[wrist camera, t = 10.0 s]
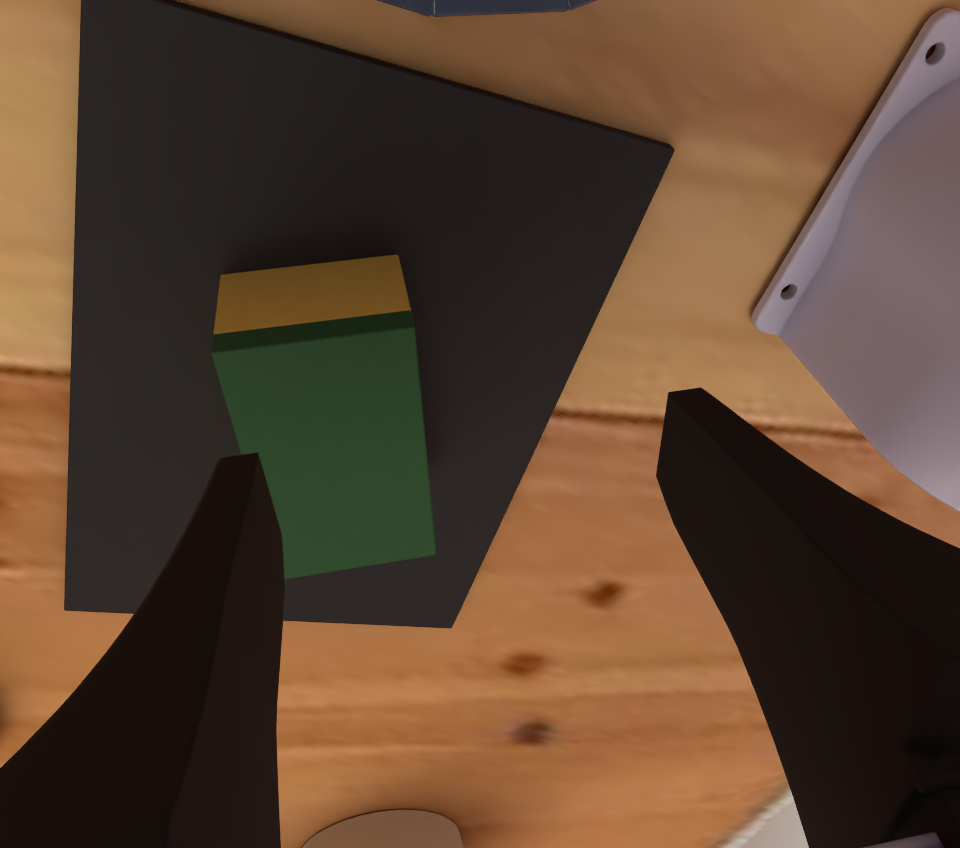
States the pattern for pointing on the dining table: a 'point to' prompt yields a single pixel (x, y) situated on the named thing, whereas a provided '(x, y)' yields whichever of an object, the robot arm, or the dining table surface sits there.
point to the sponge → (330, 408)
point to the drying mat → (311, 240)
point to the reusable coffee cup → (390, 831)
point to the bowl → (485, 6)
